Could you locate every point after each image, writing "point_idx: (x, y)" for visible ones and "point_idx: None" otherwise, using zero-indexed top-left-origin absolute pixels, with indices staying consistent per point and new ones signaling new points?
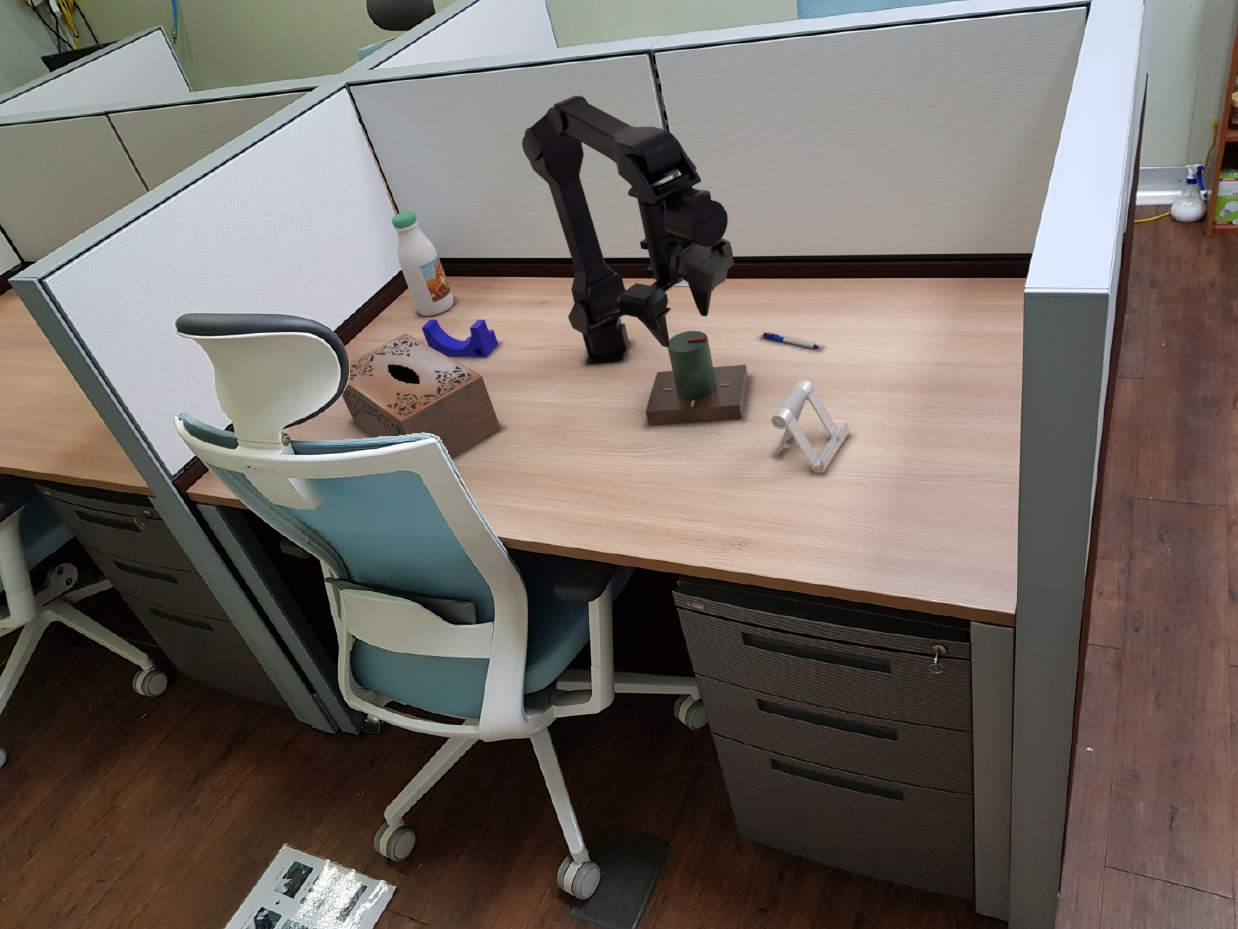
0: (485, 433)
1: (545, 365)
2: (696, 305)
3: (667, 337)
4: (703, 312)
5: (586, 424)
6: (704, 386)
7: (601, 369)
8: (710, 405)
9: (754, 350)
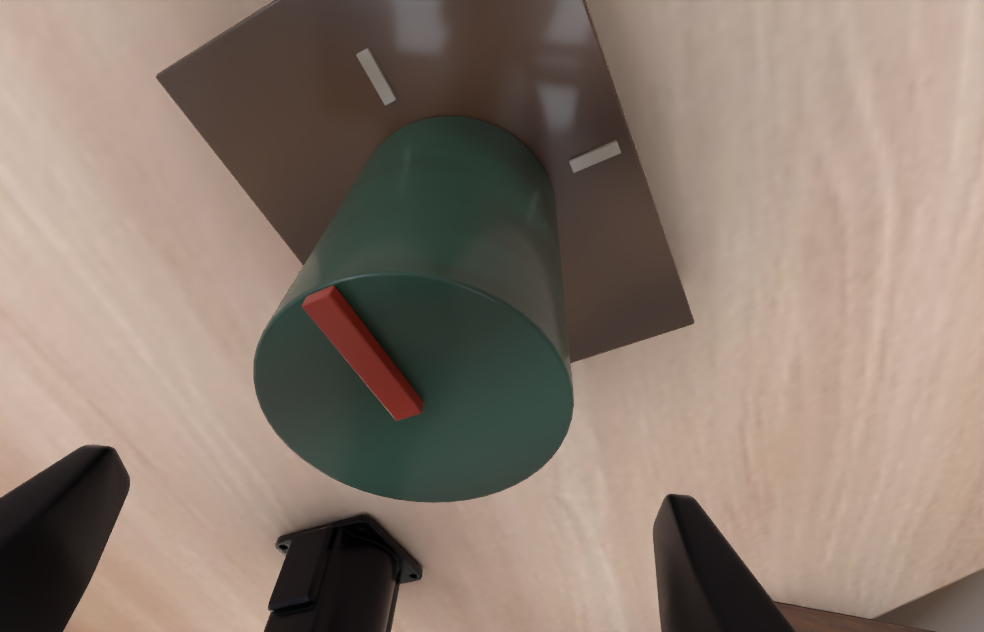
0: (800, 618)
1: (468, 626)
2: (84, 588)
3: (723, 585)
4: (98, 491)
5: (704, 455)
6: (500, 149)
7: (427, 535)
8: (583, 49)
9: (16, 155)
